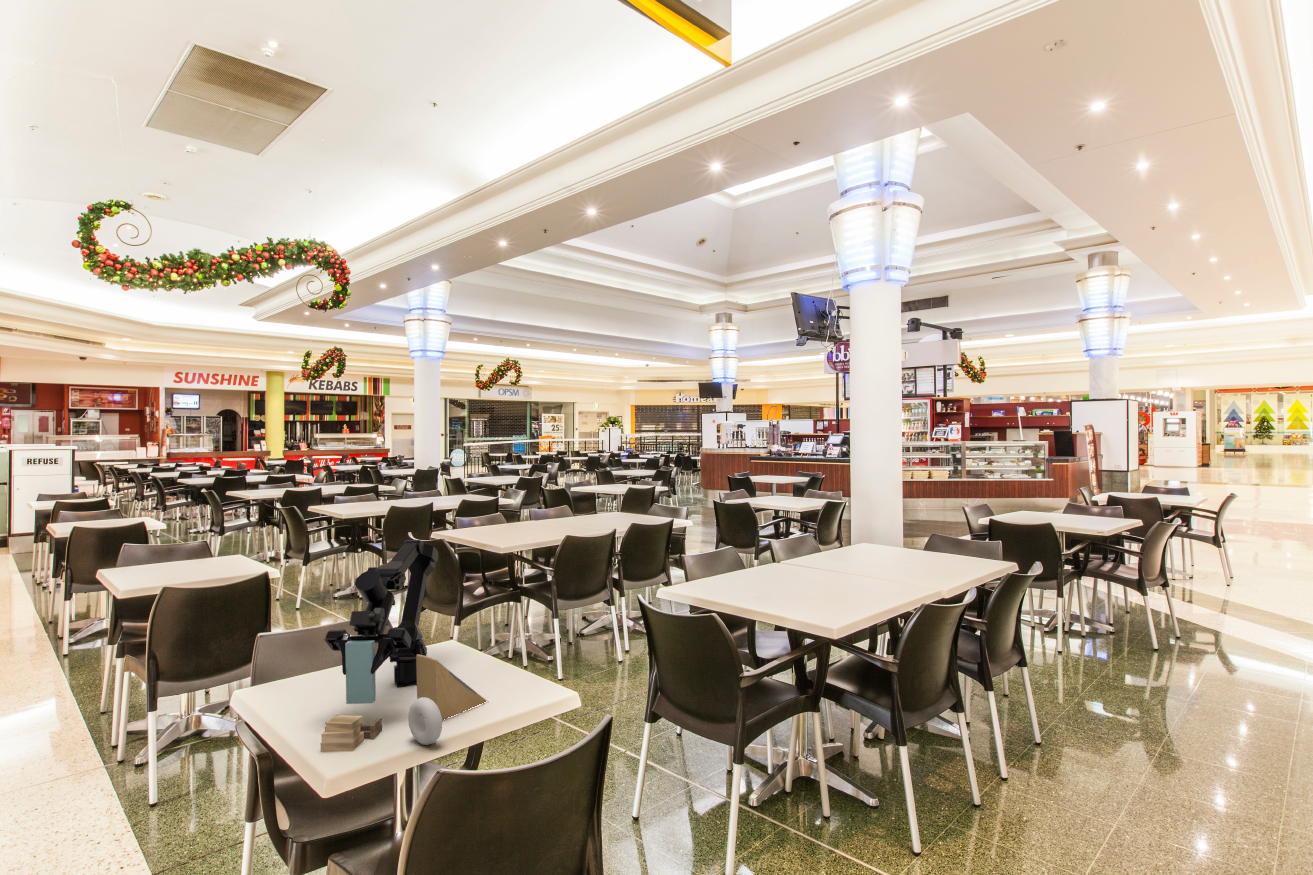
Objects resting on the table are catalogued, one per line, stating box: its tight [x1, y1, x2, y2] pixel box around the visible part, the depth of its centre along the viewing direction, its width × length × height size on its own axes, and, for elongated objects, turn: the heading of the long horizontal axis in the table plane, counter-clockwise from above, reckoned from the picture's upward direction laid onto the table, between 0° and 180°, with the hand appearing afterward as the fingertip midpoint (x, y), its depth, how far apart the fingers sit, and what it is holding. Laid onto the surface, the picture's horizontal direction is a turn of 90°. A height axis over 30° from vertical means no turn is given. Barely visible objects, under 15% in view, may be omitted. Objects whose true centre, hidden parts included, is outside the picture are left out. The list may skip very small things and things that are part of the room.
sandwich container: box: [416, 654, 488, 721], centre depth 158 cm, size 9×15×15 cm, turn 143°
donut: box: [407, 697, 443, 746], centre depth 139 cm, size 10×4×10 cm, turn 54°
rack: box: [324, 716, 383, 740], centre depth 143 cm, size 4×11×3 cm, turn 91°
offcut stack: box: [320, 714, 365, 753], centre depth 138 cm, size 5×7×6 cm
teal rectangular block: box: [345, 640, 377, 705], centre depth 147 cm, size 2×6×14 cm, turn 91°
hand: (357, 673), depth 146 cm, fingers closed on teal rectangular block, 6 cm apart
